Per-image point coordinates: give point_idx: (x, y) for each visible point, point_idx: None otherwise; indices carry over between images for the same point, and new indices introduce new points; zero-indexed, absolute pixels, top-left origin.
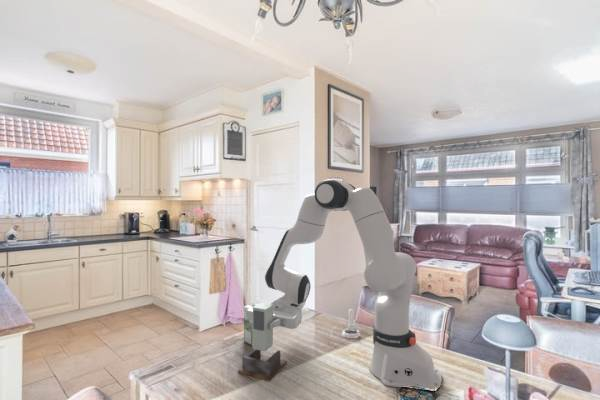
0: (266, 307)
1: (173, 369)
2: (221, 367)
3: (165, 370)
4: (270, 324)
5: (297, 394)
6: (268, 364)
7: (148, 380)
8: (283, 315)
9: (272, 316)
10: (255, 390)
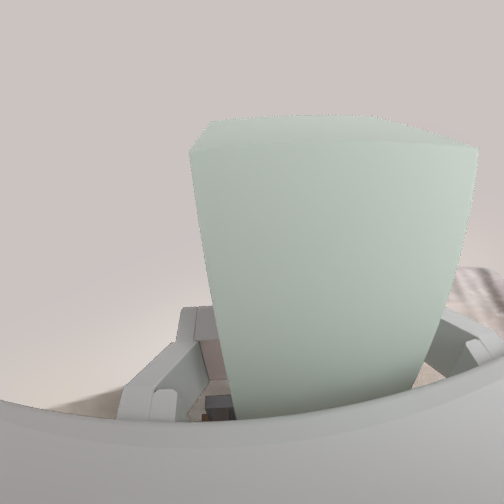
0: (233, 123)
1: (488, 308)
2: None
3: (491, 298)
4: (198, 308)
5: (92, 396)
6: (206, 398)
7: (466, 271)
8: (76, 469)
9: (223, 343)
10: None
